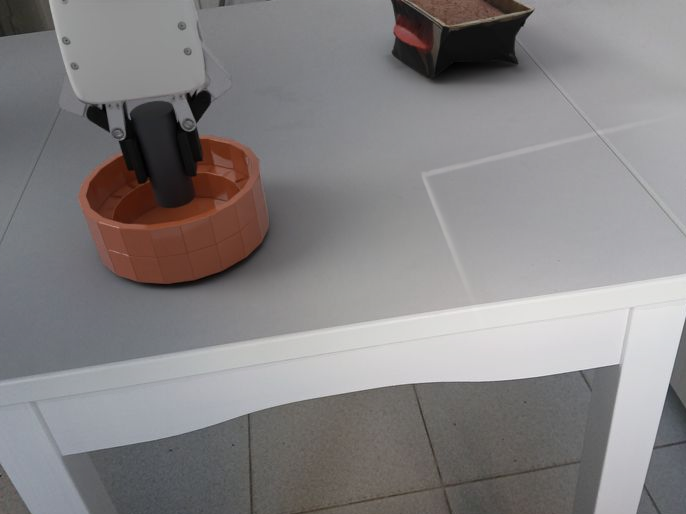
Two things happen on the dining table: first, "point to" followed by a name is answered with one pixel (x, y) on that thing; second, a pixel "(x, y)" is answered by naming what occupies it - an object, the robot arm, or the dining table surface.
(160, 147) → the dark grey cylinder
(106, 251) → the bowl
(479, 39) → the black soil planter box
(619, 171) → the dining table surface
